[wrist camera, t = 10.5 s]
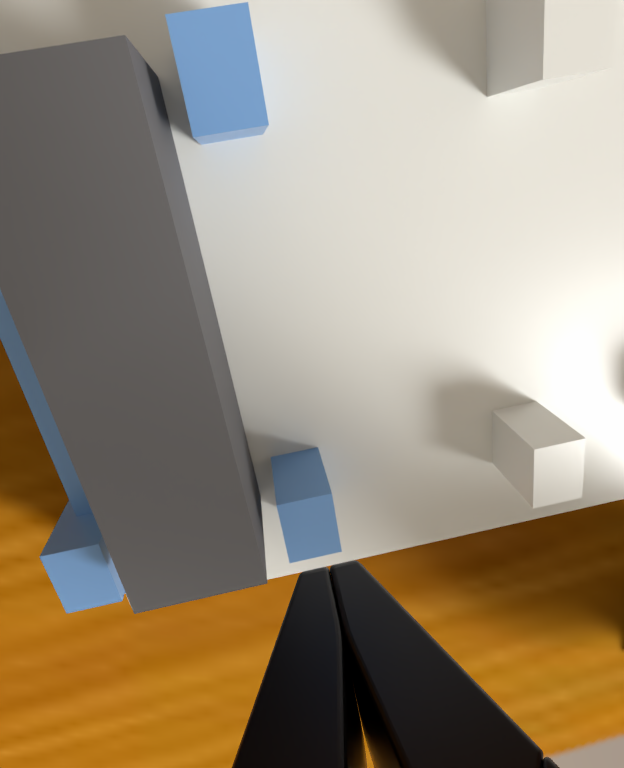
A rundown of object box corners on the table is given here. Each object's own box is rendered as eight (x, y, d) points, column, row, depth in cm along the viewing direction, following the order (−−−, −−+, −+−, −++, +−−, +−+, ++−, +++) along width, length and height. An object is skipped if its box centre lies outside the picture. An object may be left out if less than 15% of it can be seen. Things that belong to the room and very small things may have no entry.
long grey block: (260, 496, 19) (267, 583, 15) (156, 519, 19) (134, 613, 15) (158, 77, 14) (125, 34, 10) (9, 101, 13) (-92, 68, 9)
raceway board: (672, 468, 23) (758, 526, 19) (124, 591, 22) (99, 681, 18) (769, -173, 14) (962, -298, 11) (-140, -50, 13) (-300, -145, 9)
